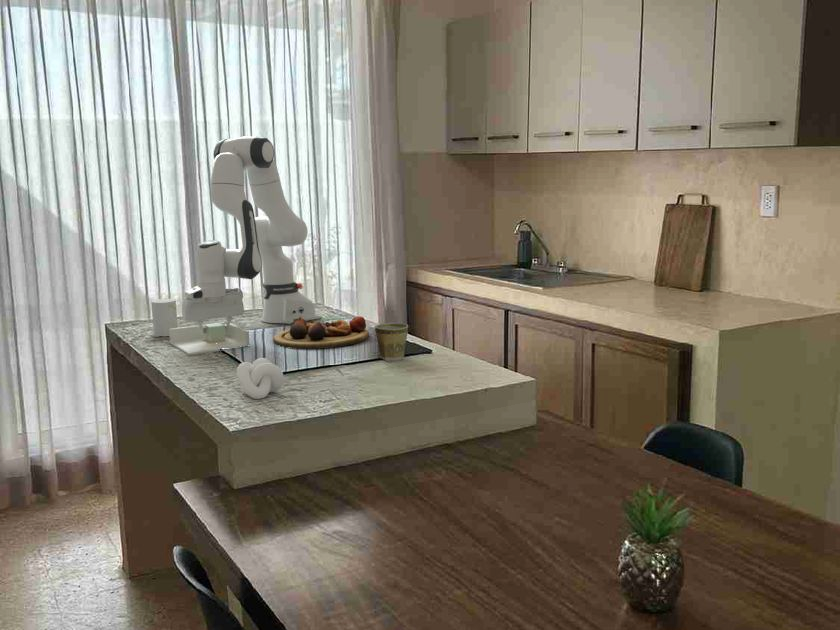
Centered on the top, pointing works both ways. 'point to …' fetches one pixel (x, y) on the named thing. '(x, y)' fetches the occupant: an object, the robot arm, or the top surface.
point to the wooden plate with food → (322, 334)
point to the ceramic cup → (391, 340)
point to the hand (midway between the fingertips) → (214, 331)
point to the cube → (215, 332)
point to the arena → (196, 341)
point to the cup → (164, 316)
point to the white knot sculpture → (259, 378)
